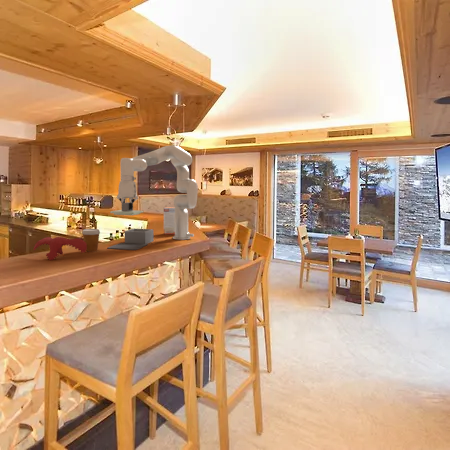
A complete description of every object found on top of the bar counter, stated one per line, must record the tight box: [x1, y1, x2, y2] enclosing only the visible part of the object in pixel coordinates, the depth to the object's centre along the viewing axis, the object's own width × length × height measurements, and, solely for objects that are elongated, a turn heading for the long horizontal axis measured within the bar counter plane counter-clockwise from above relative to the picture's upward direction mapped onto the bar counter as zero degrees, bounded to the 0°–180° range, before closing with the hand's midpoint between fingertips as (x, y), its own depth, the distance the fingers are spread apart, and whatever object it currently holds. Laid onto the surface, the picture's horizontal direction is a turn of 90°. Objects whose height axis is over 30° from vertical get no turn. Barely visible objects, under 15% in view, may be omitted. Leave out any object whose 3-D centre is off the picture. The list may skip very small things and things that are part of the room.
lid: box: [110, 201, 144, 216], centre depth 200 cm, size 15×15×7 cm
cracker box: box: [163, 206, 175, 236], centre depth 257 cm, size 14×6×21 cm, turn 84°
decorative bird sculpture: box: [32, 236, 87, 261], centre depth 169 cm, size 28×9×15 cm
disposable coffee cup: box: [81, 228, 101, 253], centre depth 188 cm, size 10×10×12 cm
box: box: [124, 227, 154, 245], centre depth 219 cm, size 14×14×8 cm
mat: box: [106, 242, 149, 251], centre depth 203 cm, size 18×18×1 cm
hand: (127, 209), depth 200 cm, fingers closed on lid, 3 cm apart
